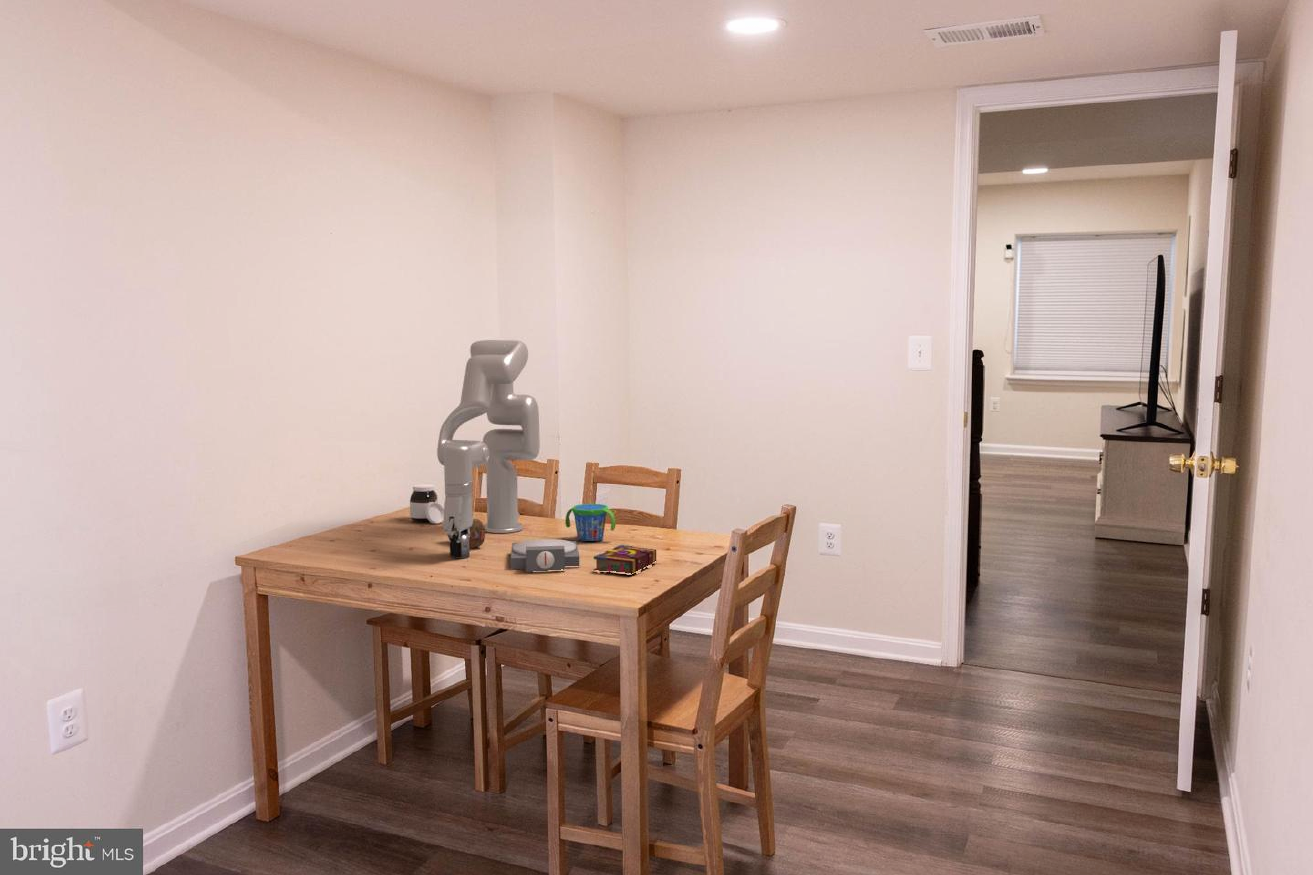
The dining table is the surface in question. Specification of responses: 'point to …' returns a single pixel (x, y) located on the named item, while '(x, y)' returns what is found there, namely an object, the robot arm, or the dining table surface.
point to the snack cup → (590, 521)
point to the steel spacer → (464, 545)
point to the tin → (476, 533)
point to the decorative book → (625, 559)
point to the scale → (544, 555)
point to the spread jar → (425, 505)
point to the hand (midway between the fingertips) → (460, 553)
